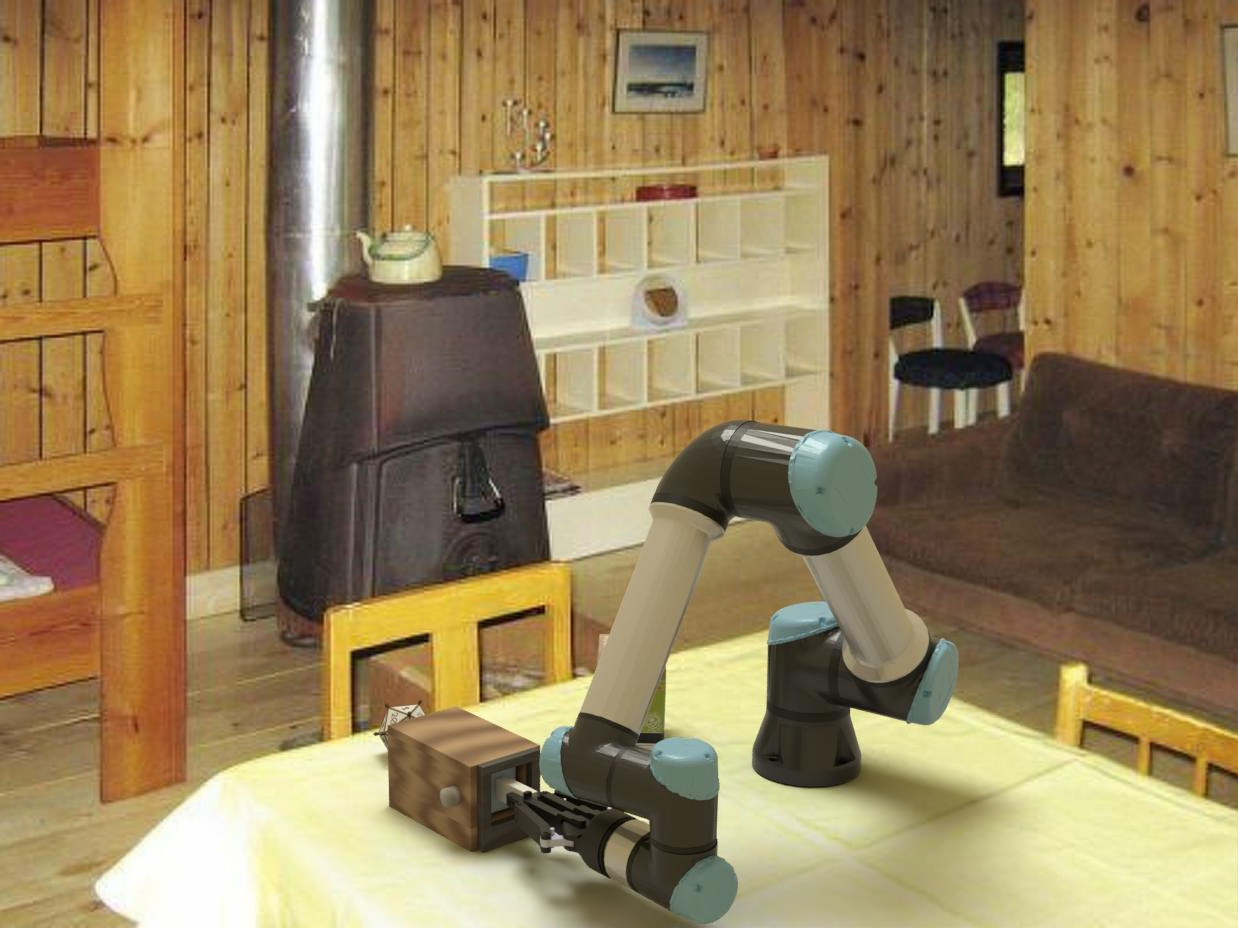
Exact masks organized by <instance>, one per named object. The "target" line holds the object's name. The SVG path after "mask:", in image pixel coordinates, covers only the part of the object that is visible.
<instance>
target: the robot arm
mask: <svg viewBox="0 0 1238 928" xmlns="http://www.w3.org/2000/svg"><path fill="white" fill-rule="evenodd" d="M877 478H878V476H877V470H876V465H875V462H874V460H873V458H872V455H871V453H870V452H869V451H868V449H867V447H865V445H864V444H863V443H862V442H860V441H859V440H857V439H856V438H855V437H851V436H849V435H844V434H840V433H837V432H835V431H832V430H827V429H811V428H804V427H795V426H791V425H790V426H789V425H783V424H782V425H781V424H775V423H766V422H760V421H757V420H751V419H741V418H740V419H732V420H728V421H723V422H721V423H718V424H716V425H714V426H712V427H710V428H708V429H706V430H705V431H703V432H702V433H701V434H699V435H698V436H697V437H695V438H694V439H693V440H691V441H690V442H689V443H688V444H687V445H686V446H685V447H684V448H683V449H682V450H681V452H679V453H678V455H677V456H676V457H675V458H674V459H673V461H672V462H671V463H670V465H669V466H668V467H667V469H666V470H665V472H664V474H663V476H662V478H661V479H660V481H659V483H658V484H657V486H656V489H655V491H654V493H653V496H652V498H651V500H650V504H649V507H648V511H649V513H650V516H651V517H652V518H651V519H652V522H651V524H650V528H649V530H648V532H647V535H646V537H645V541H644V543H643V545H642V548H641V551H640V554H639V556H638V559H637V562H636V564H635V566H634V568H633V572H632V574H631V577H630V579H629V582H628V584H627V588H626V591H625V593H624V595H623V598H622V601H621V602H620V606H619V609H618V611H617V613H616V616H615V619H614V621H613V624H612V627H611V629H610V632H609V633H608V634H609V637H608V639H607V642H606V645H605V647H604V650H603V652H602V655H601V658H600V660H599V663H598V666H597V665H596V666H597V668H595V671H594V674H593V677H592V679H591V682H590V684H589V687H588V689H587V692H586V694H585V697H584V700H583V701H582V702H583V703H582V705H581V707H580V710H579V713H578V715H577V717H576V719H575V722H574V725H569V726H568V725H563V726H558V727H556V728H555V729H553V731H551V733H550V736H549V737H547V738H546V739H545V740H544V742H543V744H542V747H541V748H540V761H539V767H540V773H541V776H540V777H541V778H542V780H543V782H544V783H545V784H546V785H547V786H548V787H549V788H550V789H553V791H554V793H551V792H550V791H547V790H540V791H538V790H536V789H534V788H532V787H528V786H526V785H524V784H522V783H520V782H517V781H515V780H513V779H511V778H509V777H507V776H502V777H498V778H496V799H498V800H500V801H502V802H504V803H506V804H507V806H509V807H511V808H513V809H514V810H515V824H516V825H517V826H519V827H520V828H521V829H522V830H523V831H524V832H525V833H526V834H527V835H529V838H531V839H532V840H533V841H534V842H535V843H537V845H539V849H540V853H541V854H544V855H546V854H547V855H548V854H550V853H551V852H552V849H555V848H557V847H559V848H560V847H563V849H564V850H565V851H568V852H570V853H571V852H572V853H576V854H578V855H579V856H580V858H581V859H582V861H583V862H584V864H585V865H586V866H587V867H588V868H589V869H591V870H592V871H594V872H596V873H598V874H600V875H602V876H604V877H606V878H607V879H611V880H613V881H614V882H616V883H618V884H620V885H622V886H624V887H626V888H628V889H630V890H631V891H634V892H635V893H637V894H639V895H641V896H642V897H645V898H646V899H648V900H649V901H652V902H654V903H655V904H657V905H659V906H661V908H664V909H666V910H667V911H670V912H671V913H672V914H673V915H674V916H678V917H682V918H684V919H686V920H688V921H690V922H694V923H696V924H701V925H709V924H713V923H714V922H716V921H718V920H720V919H722V918H723V917H724V916H725V915H726V914H728V912H729V910H730V909H731V907H732V906H733V904H734V902H735V900H736V897H737V893H738V887H739V879H738V876H737V873H736V872H735V869H734V867H733V865H732V864H731V863H729V862H728V861H726V859H725V858H724V857H721V856H719V855H718V846H719V845H718V844H719V843H718V842H719V841H718V837H717V836H718V833H717V832H718V814H719V813H718V810H719V791H720V788H721V787H720V786H721V785H720V784H721V782H720V778H719V759H718V758H719V757H718V753H717V751H716V750H715V748H714V747H713V745H711V744H709V743H708V742H706V741H704V740H702V739H699V738H694V737H689V738H686V737H682V736H678V737H677V736H675V737H670V738H664V740H662V741H660V742H658V743H657V744H655V746H654V747H653V748H652V750H650V749H647V748H643V747H640V746H636V744H637V741H638V739H639V735H640V733H641V730H642V727H643V725H644V722H645V719H646V717H647V714H648V711H649V709H650V706H651V703H652V701H653V698H654V695H655V693H656V690H657V687H658V685H659V682H660V679H661V677H662V674H663V672H664V669H665V666H666V667H667V663H668V661H669V658H670V655H671V653H672V650H673V647H674V645H675V643H676V639H677V636H678V634H679V632H680V628H681V627H682V623H683V621H684V619H685V616H686V613H687V611H688V608H689V605H690V602H691V600H692V597H693V595H694V592H695V590H696V586H697V583H698V582H699V579H700V575H701V573H702V571H703V568H704V566H705V563H706V560H707V557H708V554H709V552H710V549H711V547H712V544H713V543H714V542H715V541H719V540H720V539H723V538H724V536H725V535H726V531H727V529H728V526H729V523H730V522H731V520H733V519H734V518H735V517H737V518H742V519H747V520H751V521H756V522H762V523H765V524H769V525H770V526H772V528H773V531H774V533H775V534H776V537H777V538H778V540H779V541H780V543H781V544H782V546H783V547H784V548H785V549H786V550H787V551H789V552H791V553H792V554H794V555H797V556H800V557H802V558H803V559H802V560H803V561H804V563H805V565H806V566H807V568H808V570H809V573H810V574H811V575H812V578H813V580H814V582H815V584H816V586H817V587H818V589H819V592H820V594H821V595H822V597H823V599H824V600H825V601H823V600H822V601H807V602H800V603H794V604H791V605H788V606H785V607H782V608H781V609H778V610H777V611H776V612H775V613H773V615H772V616H771V618H770V619H769V627H768V634H767V636H768V637H767V640H766V644H767V658H766V659H767V663H766V664H767V665H766V666H767V669H766V670H767V671H766V672H767V673H766V677H767V678H766V702H765V704H766V709H765V713H764V716H763V719H762V721H761V724H760V727H759V730H758V731H757V734H756V738H755V740H754V742H753V745H752V753H751V765H752V768H753V769H754V770H755V772H757V774H759V775H761V776H763V777H764V778H766V779H769V780H771V781H774V782H777V783H780V784H786V785H791V786H798V787H828V786H835V785H840V784H843V783H846V782H849V781H851V780H853V779H854V778H856V777H857V776H858V775H859V774H860V772H861V768H862V752H861V749H860V744H859V741H858V737H857V735H856V731H855V728H854V724H853V721H852V717H851V709H854V710H858V711H862V712H865V713H870V714H873V715H878V716H883V717H887V718H890V719H894V720H898V721H902V722H905V723H906V724H907V725H910V724H915V725H920V726H931V725H933V724H935V722H937V721H938V720H940V718H942V716H943V715H944V713H945V712H946V710H947V708H948V706H949V704H950V701H951V699H952V697H953V694H954V690H955V687H956V684H957V679H958V678H957V677H958V674H959V665H960V664H959V663H960V660H959V658H960V657H959V651H958V648H957V646H956V645H955V643H953V642H952V641H949V640H946V638H944V637H941V638H937V637H933V636H932V635H931V634H930V631H929V630H928V628H927V625H926V623H925V622H924V621H923V619H922V618H921V617H920V616H919V615H918V614H917V613H915V612H913V611H912V610H910V609H907V608H905V606H904V604H903V602H902V600H901V597H900V595H899V593H898V592H897V589H896V587H895V584H894V583H893V580H892V578H891V577H890V573H889V572H888V570H887V568H886V566H885V564H884V561H883V559H882V557H881V555H880V553H879V551H878V549H877V546H876V545H875V542H874V540H873V538H872V535H871V534H870V532H869V529H868V527H867V525H868V522H869V521H870V518H872V516H873V513H874V509H875V507H876V502H877V496H878V486H877V485H876V484H875V482H876V480H877ZM635 816H636V817H635ZM637 817H638V818H637ZM639 818H641V819H645V820H647V821H648V822H646V821H643V820H640V819H639Z"/></svg>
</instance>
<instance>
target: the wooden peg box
mask: <svg viewBox="0 0 1238 928" xmlns="http://www.w3.org/2000/svg"><path fill="white" fill-rule="evenodd" d="M425 714H426V713H425ZM540 753H541V744H539V743H536V742H534V741H532V740H530V739H527V738H525V737H524V736H522V735H520V734H516V733H515V732H513V731H510V730H509V729H506V728H504V727H502V726H500V725H497V724H496V723H493V722H491V721H489V720H487V719H485V718H483V717H481V716H478V715H476V714H474V713H472V712H470V711H467V710H465V709H463V708H461V707H459V706H456V705H455V706H452V707H451V706H450V707H449V708H444V709H440V710H437V711H434V712H431V713H427V714H426V715H423V716H419V717H416V718H412V719H408V720H405V721H401V722H398V723H394V724H391V725H388V750H387V760H388V761H387V764H388V765H387V766H388V777H387V778H388V806H389V807H391V808H392V809H394V810H397V811H398V812H400V813H402V814H404V815H405V816H406V817H409V818H410V819H412V820H414V821H416V822H417V823H419V824H421V825H423V826H424V827H427V828H428V829H430V830H432V831H434V832H435V833H436V834H439V835H441V836H442V837H444V838H446V839H448V840H450V841H451V842H453V843H455V844H456V845H458V846H461V847H462V848H463V849H466V850H468V852H469V851H470V852H475V851H476V850H478V851H480V852H481V853H485V852H486V853H487V852H488V851H492V850H495V849H497V848H500V847H503V846H506V845H508V844H511V843H514V842H517V841H520V840H523V839H526V838H530V836H529V835H527V834H526V833H525V832H524V831H523V830H522V829H521V828H520V827H519V826H517V825H516V824H515V810H514V809H513V808H511V807H508V808H505V809H502V810H499V811H496V812H493V813H491V774H494V773H497V772H500V771H503V770H506V769H510V768H513V767H516V781H517V782H520V783H522V784H524V785H526V786H528V787H532V788H534V789H536V790H538V791H540V792H541V777H542V776H541V773H540V767H539V761H540Z"/></svg>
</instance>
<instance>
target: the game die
mask: <svg viewBox="0 0 1238 928" xmlns="http://www.w3.org/2000/svg"><path fill="white" fill-rule="evenodd" d="M422 703H423V700H422V698H420V699H419V700H418V702H417V703H413V704H405V705H396V706H390V705H389V703H387V702H384V707H385V708H386V711H385V714H384V717H383V720H382V723H381V724H380V727H379V730H378V731H375V732H373V734H372V735H373V736H375V737H376V736H379V738H380V739H381V741H382V743H383V744H384V747H385V748H386V749H387V751H388V725H391V724H394V723H398V722H401V721H405V720H408V719H412V718H416V717H419V716H423V715H426V713H425V711H424V709H423V708H422V706H421V704H422Z"/></svg>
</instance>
